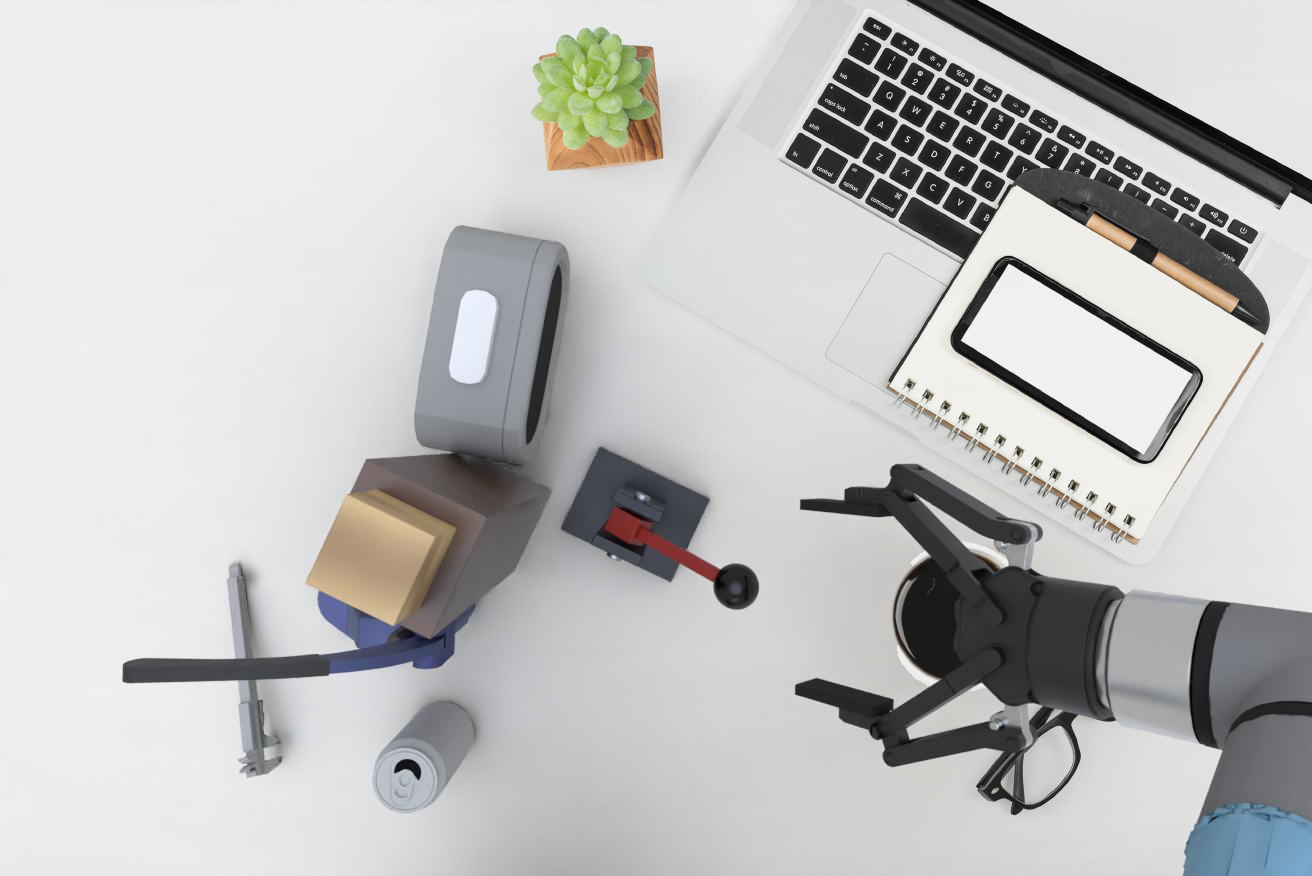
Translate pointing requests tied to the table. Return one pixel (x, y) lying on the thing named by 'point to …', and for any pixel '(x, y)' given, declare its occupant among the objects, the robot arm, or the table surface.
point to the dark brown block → (461, 524)
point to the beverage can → (422, 757)
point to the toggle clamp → (634, 510)
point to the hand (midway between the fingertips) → (807, 594)
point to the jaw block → (381, 555)
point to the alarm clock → (492, 345)
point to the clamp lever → (688, 560)
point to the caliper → (248, 685)
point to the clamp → (369, 633)
